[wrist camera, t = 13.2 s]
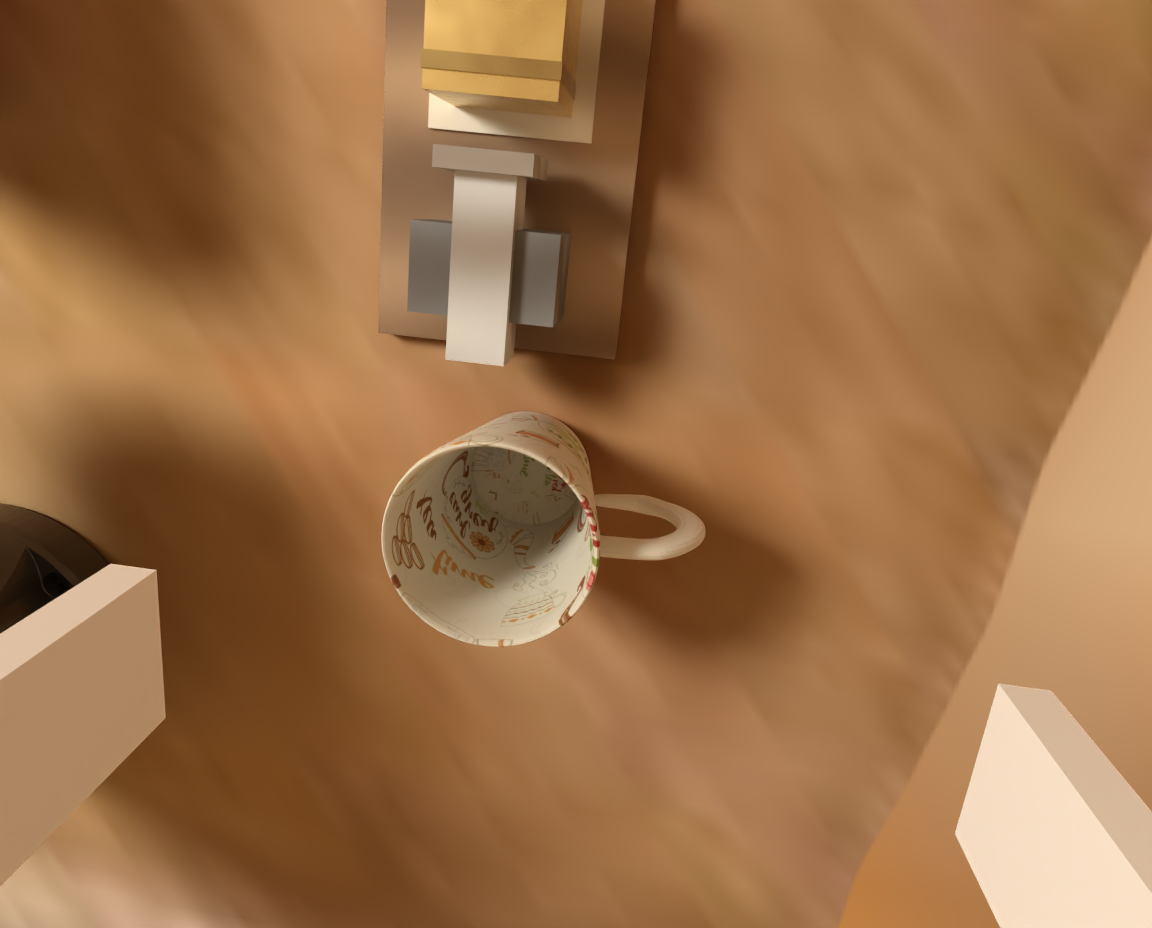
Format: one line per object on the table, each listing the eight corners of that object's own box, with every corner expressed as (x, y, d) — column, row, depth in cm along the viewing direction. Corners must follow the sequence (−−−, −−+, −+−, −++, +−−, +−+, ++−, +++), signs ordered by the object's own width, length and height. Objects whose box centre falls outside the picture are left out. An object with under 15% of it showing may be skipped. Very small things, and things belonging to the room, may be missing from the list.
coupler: (461, -57, 33) (427, -104, 28) (588, -45, 32) (575, -92, 27) (453, 106, 34) (419, 87, 29) (573, 117, 34) (558, 101, 29)
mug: (446, 379, 39) (378, 432, 30) (710, 401, 38) (727, 462, 29) (444, 540, 42) (381, 637, 32) (691, 564, 41) (702, 670, 31)
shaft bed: (615, 356, 38) (608, 381, 32) (385, 329, 39) (336, 350, 33) (694, -340, 30) (702, -475, 24) (404, -356, 31) (344, -492, 25)
